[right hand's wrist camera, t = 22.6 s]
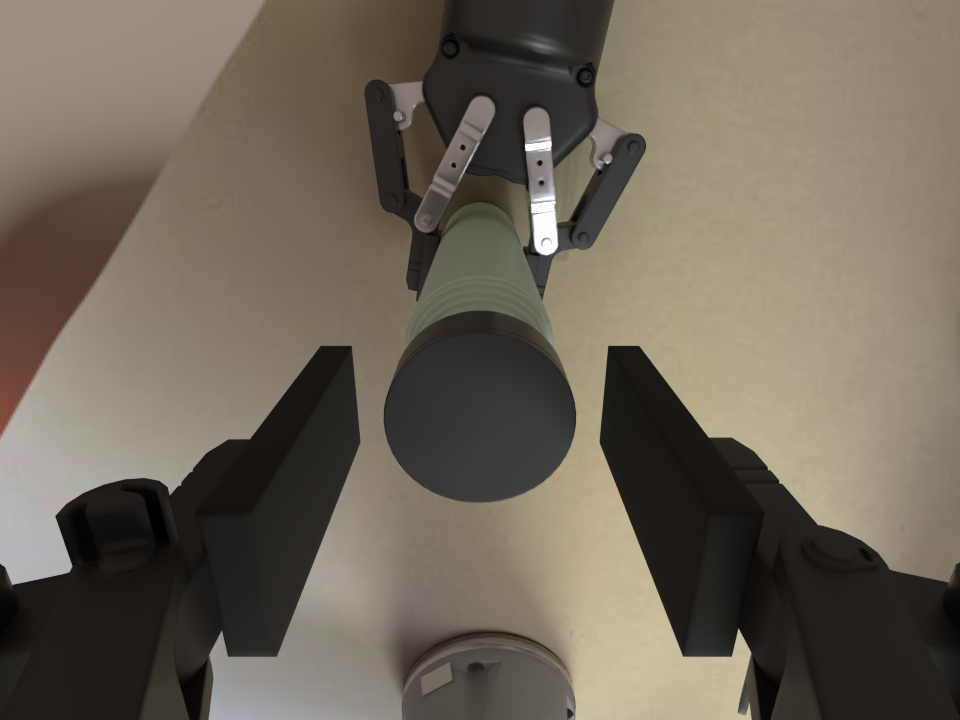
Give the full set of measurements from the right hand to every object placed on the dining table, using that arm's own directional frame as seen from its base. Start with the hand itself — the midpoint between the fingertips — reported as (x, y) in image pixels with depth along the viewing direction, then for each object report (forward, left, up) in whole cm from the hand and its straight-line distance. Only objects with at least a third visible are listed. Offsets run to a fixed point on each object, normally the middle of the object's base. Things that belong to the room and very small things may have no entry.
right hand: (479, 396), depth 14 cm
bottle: (0, 0, -23) cm, 23 cm away
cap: (0, 0, +1) cm, 1 cm away
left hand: (-1, +2, -17) cm, 17 cm away
